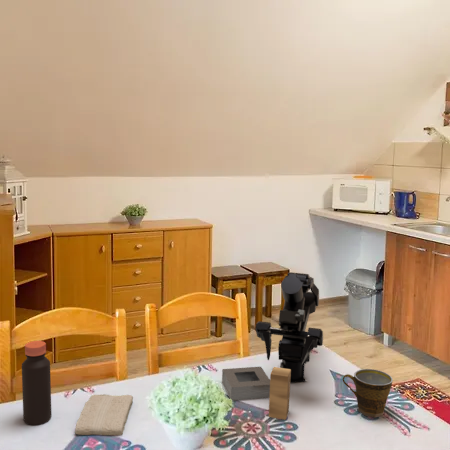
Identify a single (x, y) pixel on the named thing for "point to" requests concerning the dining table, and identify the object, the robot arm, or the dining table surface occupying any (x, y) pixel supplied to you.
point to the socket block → (246, 383)
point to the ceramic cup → (371, 390)
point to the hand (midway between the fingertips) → (284, 361)
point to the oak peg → (279, 393)
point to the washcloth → (104, 415)
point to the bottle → (36, 384)
